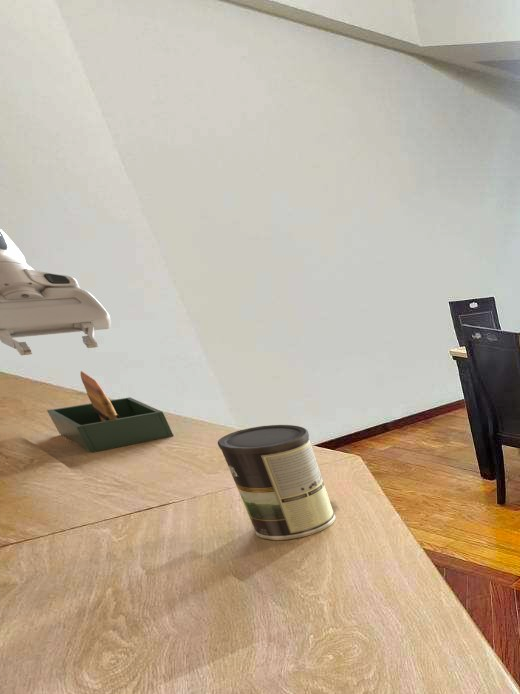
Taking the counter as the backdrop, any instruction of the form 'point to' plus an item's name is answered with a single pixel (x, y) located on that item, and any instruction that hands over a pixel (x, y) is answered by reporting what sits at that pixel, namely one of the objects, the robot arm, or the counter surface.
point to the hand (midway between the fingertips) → (60, 349)
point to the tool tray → (111, 425)
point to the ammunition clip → (98, 399)
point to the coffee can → (278, 481)
